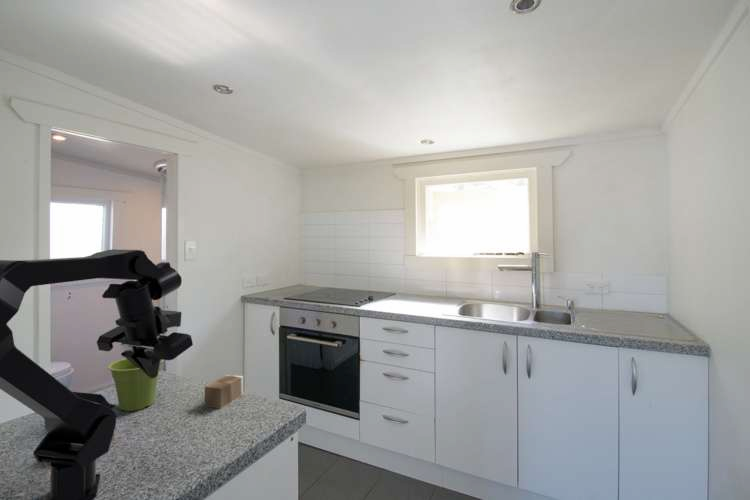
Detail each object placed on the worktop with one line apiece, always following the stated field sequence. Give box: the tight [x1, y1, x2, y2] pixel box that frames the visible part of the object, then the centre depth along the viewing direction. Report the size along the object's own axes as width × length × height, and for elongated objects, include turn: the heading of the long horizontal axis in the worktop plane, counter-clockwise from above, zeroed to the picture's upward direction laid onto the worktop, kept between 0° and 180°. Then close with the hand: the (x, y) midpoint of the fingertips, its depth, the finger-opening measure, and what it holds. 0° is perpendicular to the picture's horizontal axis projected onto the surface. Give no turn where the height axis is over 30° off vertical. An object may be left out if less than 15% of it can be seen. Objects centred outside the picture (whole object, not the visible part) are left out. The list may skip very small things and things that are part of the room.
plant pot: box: [107, 358, 164, 412], centre depth 89 cm, size 12×12×11 cm
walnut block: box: [204, 373, 244, 409], centre depth 94 cm, size 5×5×9 cm
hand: (154, 376), depth 74 cm, fingers closed
